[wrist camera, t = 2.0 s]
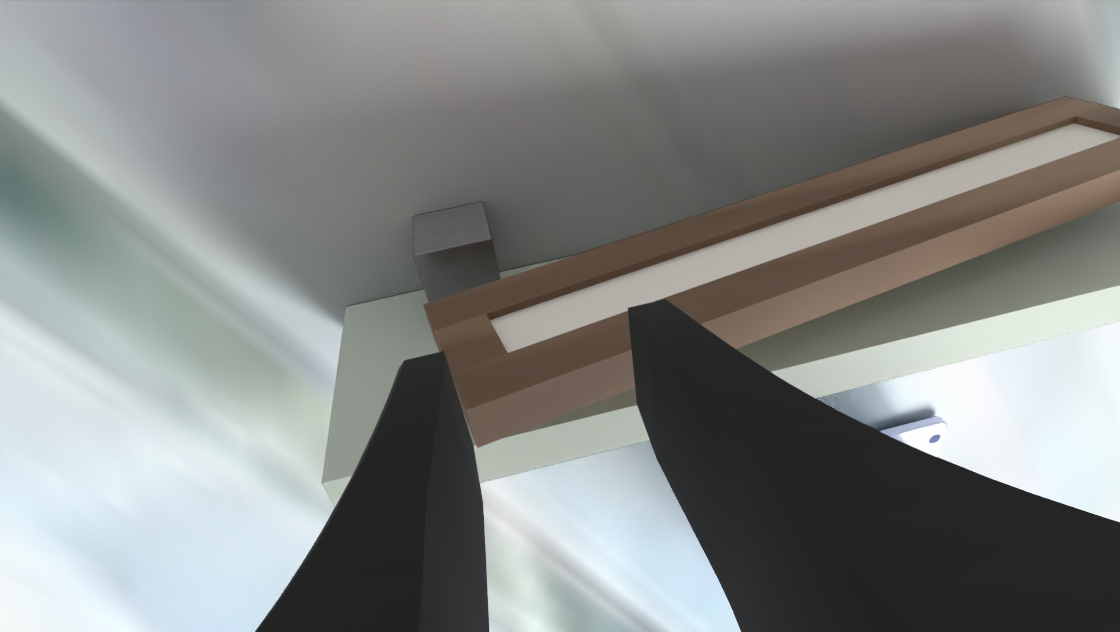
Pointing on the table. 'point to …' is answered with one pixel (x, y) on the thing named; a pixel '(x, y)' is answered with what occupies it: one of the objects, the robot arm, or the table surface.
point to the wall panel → (793, 355)
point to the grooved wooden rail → (772, 259)
